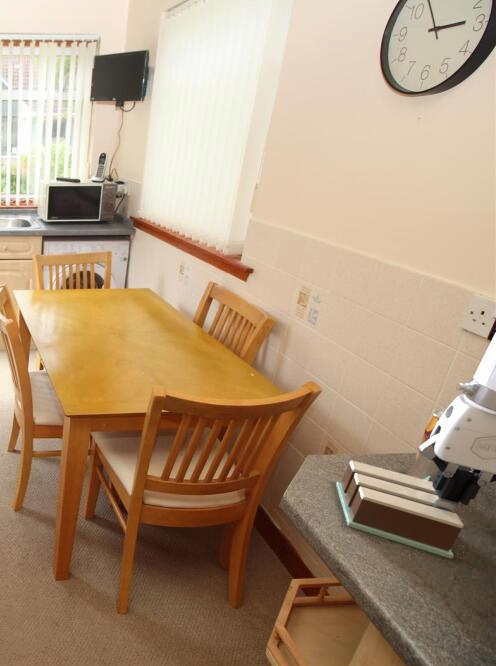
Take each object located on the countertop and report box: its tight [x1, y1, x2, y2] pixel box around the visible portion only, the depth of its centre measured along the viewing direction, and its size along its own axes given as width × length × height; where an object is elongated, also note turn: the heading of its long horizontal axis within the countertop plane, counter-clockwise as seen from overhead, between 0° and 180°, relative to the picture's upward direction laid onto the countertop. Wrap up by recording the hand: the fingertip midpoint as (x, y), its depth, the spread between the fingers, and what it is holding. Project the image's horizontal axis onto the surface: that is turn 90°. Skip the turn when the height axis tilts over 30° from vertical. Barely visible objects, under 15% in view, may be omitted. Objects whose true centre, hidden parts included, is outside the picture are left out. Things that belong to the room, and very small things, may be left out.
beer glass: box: [404, 409, 446, 482], centre depth 90 cm, size 7×7×15 cm
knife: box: [433, 465, 474, 513], centre depth 77 cm, size 2×1×14 cm, turn 63°
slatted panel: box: [335, 459, 464, 560], centre depth 83 cm, size 14×12×6 cm
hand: (450, 495), depth 77 cm, fingers closed on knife
